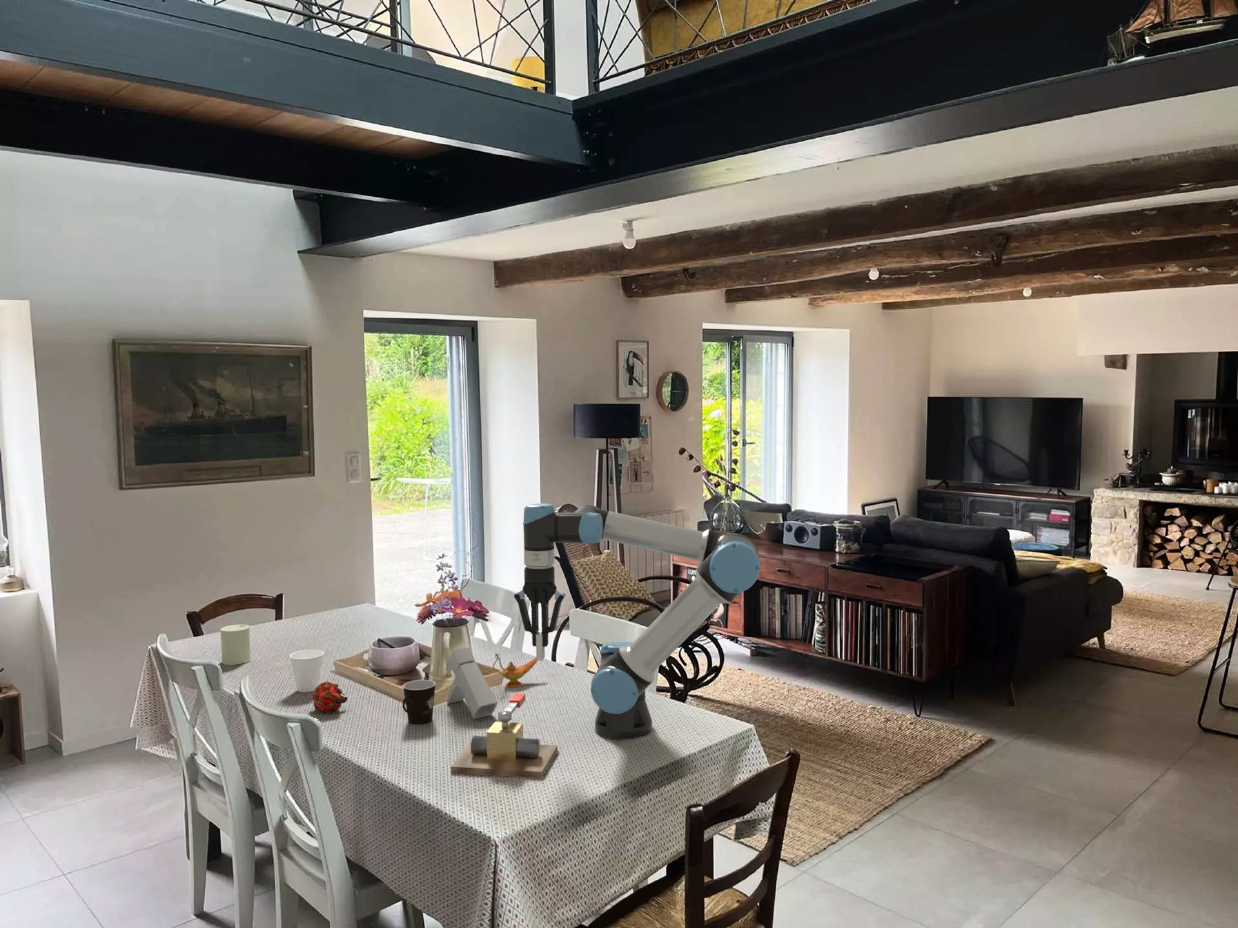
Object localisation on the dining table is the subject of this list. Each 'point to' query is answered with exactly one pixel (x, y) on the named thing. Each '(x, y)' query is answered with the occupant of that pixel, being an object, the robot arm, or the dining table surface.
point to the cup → (306, 669)
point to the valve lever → (511, 707)
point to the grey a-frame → (470, 684)
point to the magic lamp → (514, 672)
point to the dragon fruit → (328, 697)
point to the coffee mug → (419, 701)
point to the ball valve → (505, 743)
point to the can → (235, 644)
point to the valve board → (505, 764)
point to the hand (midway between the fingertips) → (540, 658)
